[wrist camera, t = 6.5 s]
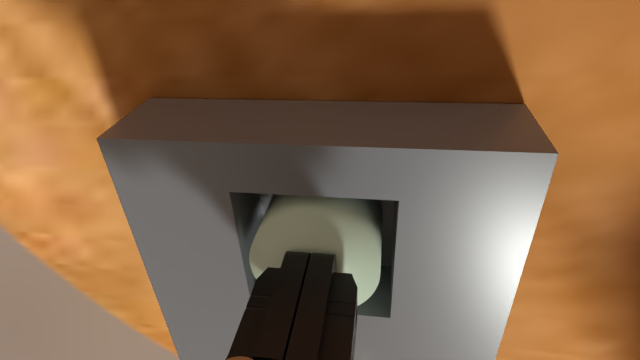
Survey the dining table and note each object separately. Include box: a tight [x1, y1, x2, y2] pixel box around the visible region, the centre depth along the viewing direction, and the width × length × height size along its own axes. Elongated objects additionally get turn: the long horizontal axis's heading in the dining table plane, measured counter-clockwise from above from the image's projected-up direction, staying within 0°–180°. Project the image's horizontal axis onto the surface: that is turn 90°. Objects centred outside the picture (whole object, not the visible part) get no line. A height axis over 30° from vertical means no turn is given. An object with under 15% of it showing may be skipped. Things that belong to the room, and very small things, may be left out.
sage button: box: [249, 194, 383, 306], centre depth 14 cm, size 4×4×3 cm
